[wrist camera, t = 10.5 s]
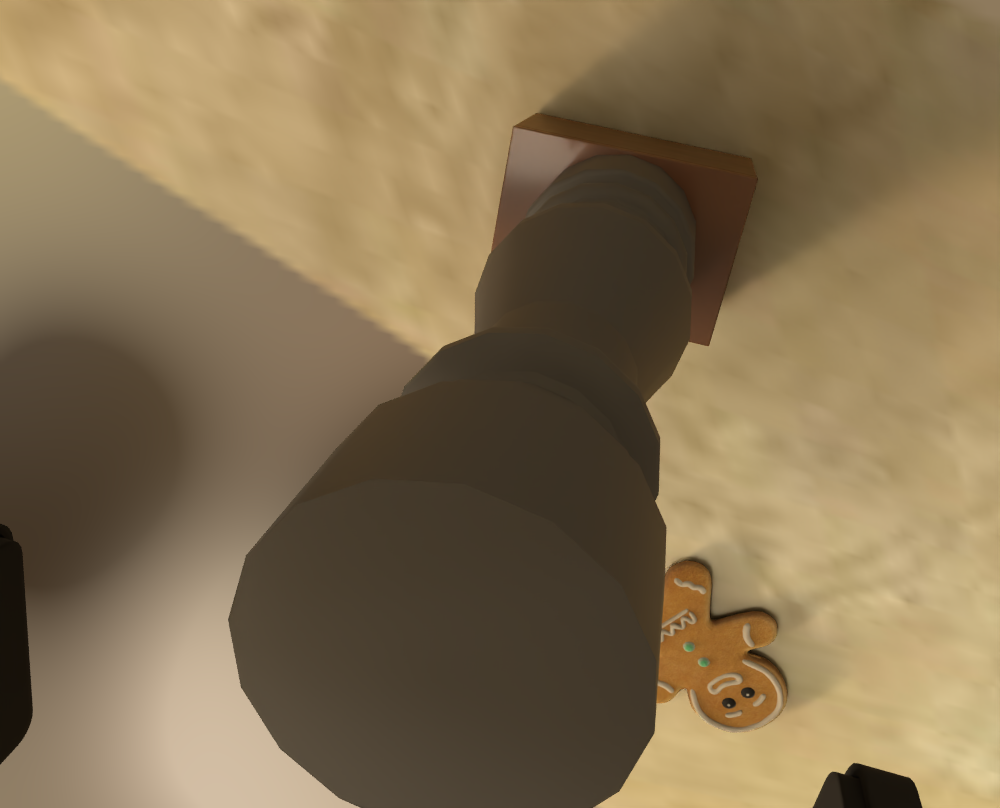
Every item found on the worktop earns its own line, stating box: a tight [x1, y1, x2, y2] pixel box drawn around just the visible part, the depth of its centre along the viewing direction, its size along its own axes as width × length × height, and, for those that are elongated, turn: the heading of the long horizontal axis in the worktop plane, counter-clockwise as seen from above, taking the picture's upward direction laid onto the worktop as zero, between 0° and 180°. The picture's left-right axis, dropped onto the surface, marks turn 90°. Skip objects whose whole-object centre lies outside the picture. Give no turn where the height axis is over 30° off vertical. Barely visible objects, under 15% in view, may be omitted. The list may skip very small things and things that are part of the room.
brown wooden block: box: [491, 113, 758, 346], centre depth 36 cm, size 6×9×5 cm
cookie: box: [657, 561, 787, 732], centre depth 46 cm, size 8×1×10 cm
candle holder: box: [228, 155, 696, 808], centre depth 23 cm, size 6×6×25 cm
